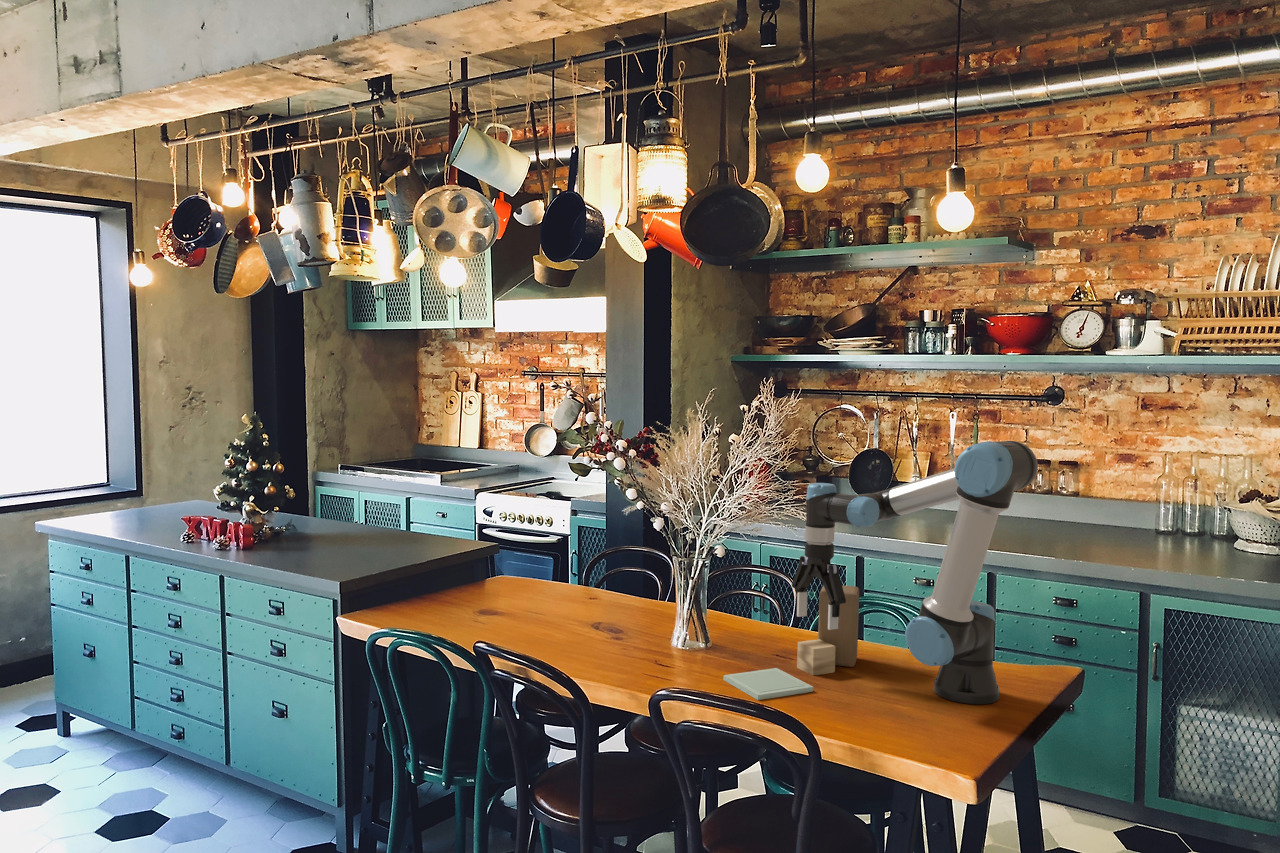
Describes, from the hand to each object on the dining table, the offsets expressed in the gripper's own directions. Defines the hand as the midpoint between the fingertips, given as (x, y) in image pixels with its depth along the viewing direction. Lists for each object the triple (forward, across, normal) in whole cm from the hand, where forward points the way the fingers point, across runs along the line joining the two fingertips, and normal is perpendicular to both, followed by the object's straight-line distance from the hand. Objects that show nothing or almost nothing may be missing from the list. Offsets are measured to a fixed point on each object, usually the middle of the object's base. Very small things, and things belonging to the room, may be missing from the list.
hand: (816, 622), depth 247 cm
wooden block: (+13, +4, -10) cm, 17 cm away
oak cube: (+13, 0, 0) cm, 13 cm away
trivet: (+13, -6, +19) cm, 24 cm away
